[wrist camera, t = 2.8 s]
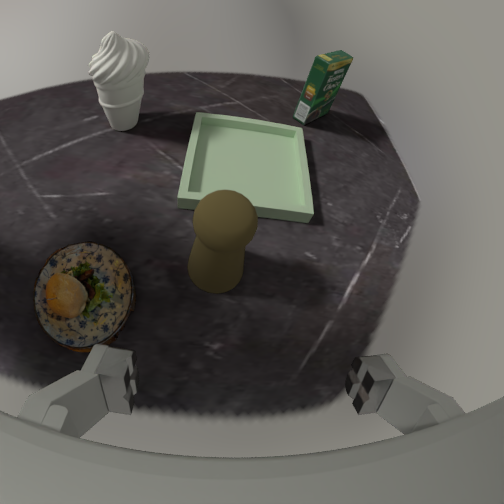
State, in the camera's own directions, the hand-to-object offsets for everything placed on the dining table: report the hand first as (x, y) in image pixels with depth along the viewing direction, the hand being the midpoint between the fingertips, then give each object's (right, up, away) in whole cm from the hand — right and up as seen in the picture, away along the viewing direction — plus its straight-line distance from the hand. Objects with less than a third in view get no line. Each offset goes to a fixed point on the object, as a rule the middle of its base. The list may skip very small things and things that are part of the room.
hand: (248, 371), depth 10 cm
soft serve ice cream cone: (-19, +24, +29) cm, 42 cm away
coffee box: (+10, +28, +38) cm, 48 cm away
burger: (-18, -1, +18) cm, 25 cm away
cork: (-4, +3, +22) cm, 23 cm away
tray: (-1, +16, +29) cm, 33 cm away
